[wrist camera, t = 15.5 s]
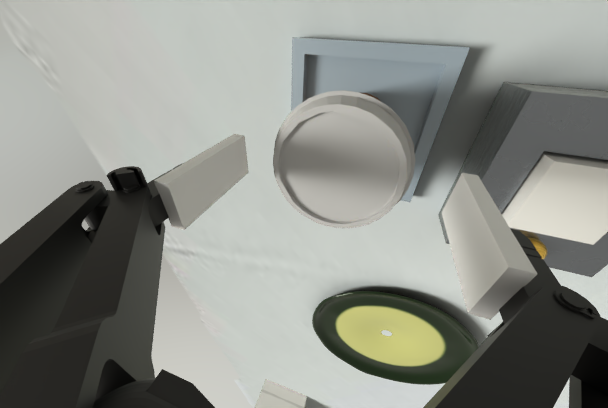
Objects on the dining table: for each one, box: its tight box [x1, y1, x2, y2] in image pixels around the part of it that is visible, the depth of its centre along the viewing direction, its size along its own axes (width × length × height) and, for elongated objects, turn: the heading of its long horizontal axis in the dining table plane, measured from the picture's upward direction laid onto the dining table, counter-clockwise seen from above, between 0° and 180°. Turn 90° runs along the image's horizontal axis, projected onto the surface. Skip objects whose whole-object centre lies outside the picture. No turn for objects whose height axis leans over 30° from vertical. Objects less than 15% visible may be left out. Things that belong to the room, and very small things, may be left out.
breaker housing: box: [439, 82, 608, 277], centre depth 19 cm, size 14×12×7 cm
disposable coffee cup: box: [273, 90, 415, 228], centre depth 19 cm, size 10×10×12 cm
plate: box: [312, 291, 479, 384], centre depth 42 cm, size 28×28×2 cm
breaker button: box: [501, 151, 608, 245], centre depth 19 cm, size 6×6×6 cm
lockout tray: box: [291, 37, 470, 202], centre depth 24 cm, size 14×14×2 cm
